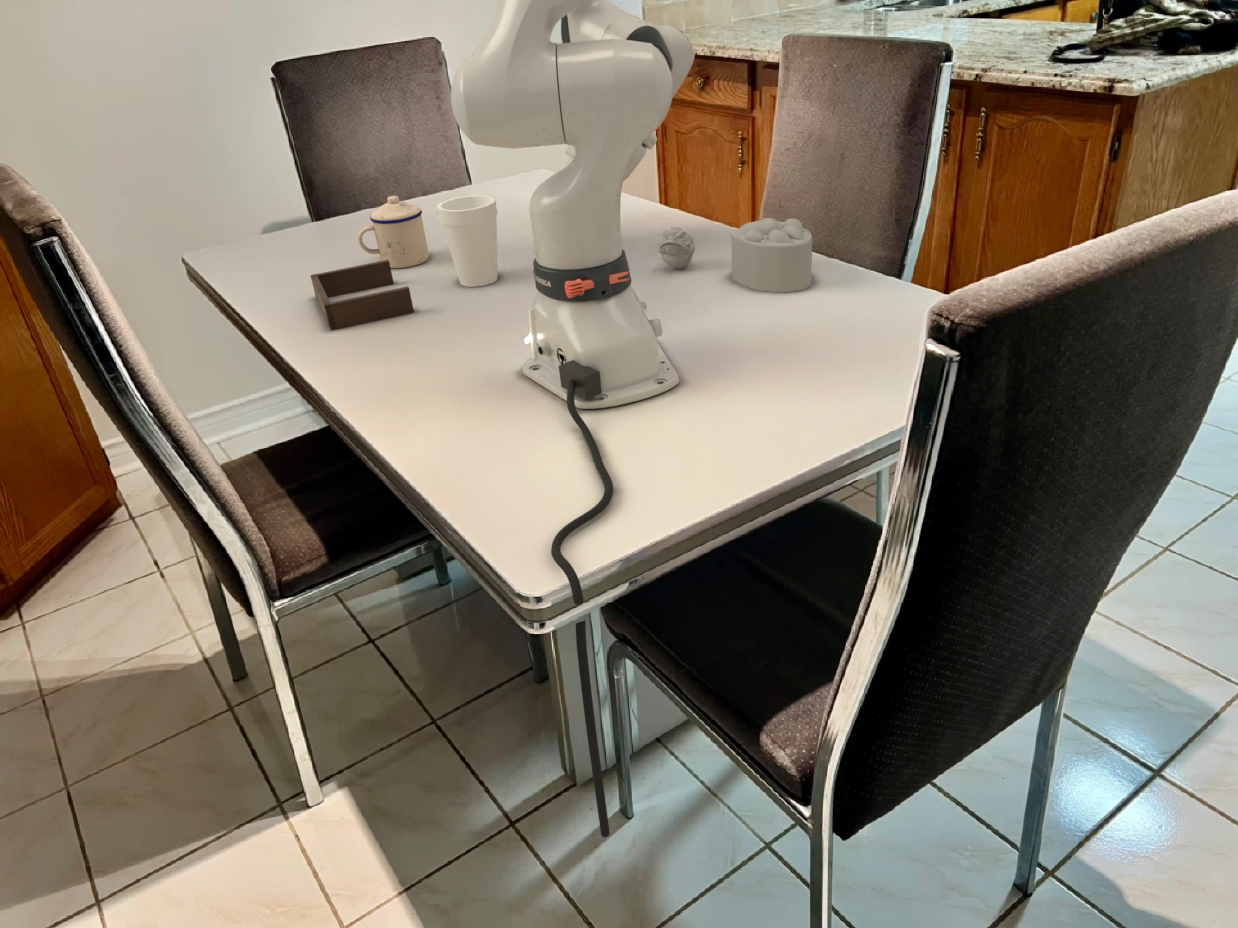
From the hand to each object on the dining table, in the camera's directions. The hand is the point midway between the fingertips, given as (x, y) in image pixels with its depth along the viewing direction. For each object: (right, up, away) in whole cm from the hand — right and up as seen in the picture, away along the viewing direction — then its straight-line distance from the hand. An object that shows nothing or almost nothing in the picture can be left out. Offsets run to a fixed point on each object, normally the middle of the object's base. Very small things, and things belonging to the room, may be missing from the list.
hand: (574, 191), depth 158 cm
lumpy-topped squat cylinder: (+32, -17, -11) cm, 38 cm away
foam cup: (-16, -15, 0) cm, 22 cm away
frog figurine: (+17, -14, -3) cm, 22 cm away
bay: (-34, -20, -5) cm, 39 cm away
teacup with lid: (-33, -9, +13) cm, 36 cm away
